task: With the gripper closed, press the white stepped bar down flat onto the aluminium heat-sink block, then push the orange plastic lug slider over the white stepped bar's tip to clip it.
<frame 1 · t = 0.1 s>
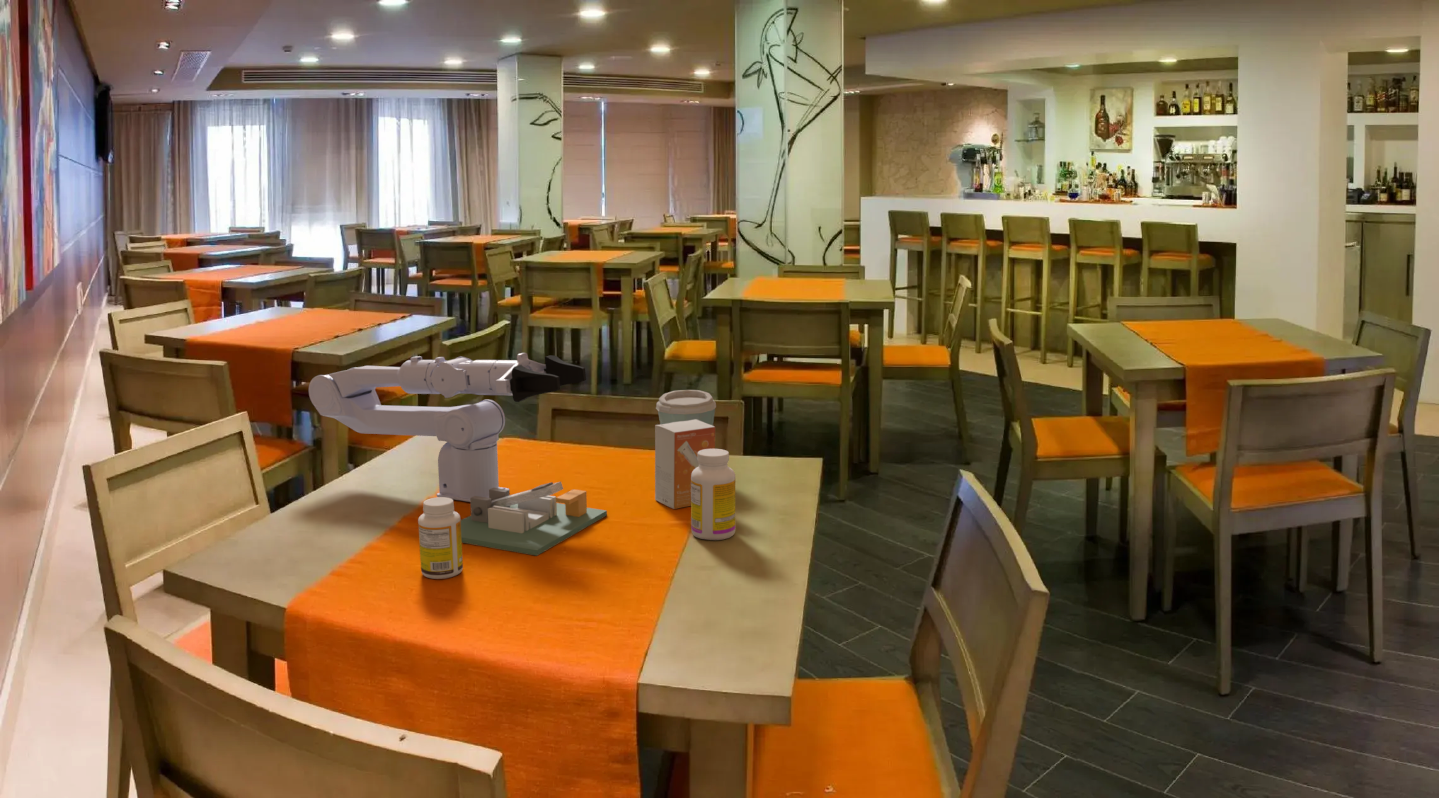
hand: (571, 378, 169), 22 cm above the table, tool horizontal, fingers open, 7 cm apart
disposable coffee cup: (686, 477, 193), on the table
supplement bottle 2: (713, 535, 163), on the table
lug slider: (571, 505, 168), point 3 cm above the table, slide at 0.0 cm
socket base: (523, 526, 166), on the table
white stepped bar: (522, 495, 165), point 5 cm above the table, hinge at 20.0°
supplement bottle: (442, 574, 147), on the table
small box: (684, 502, 179), on the table
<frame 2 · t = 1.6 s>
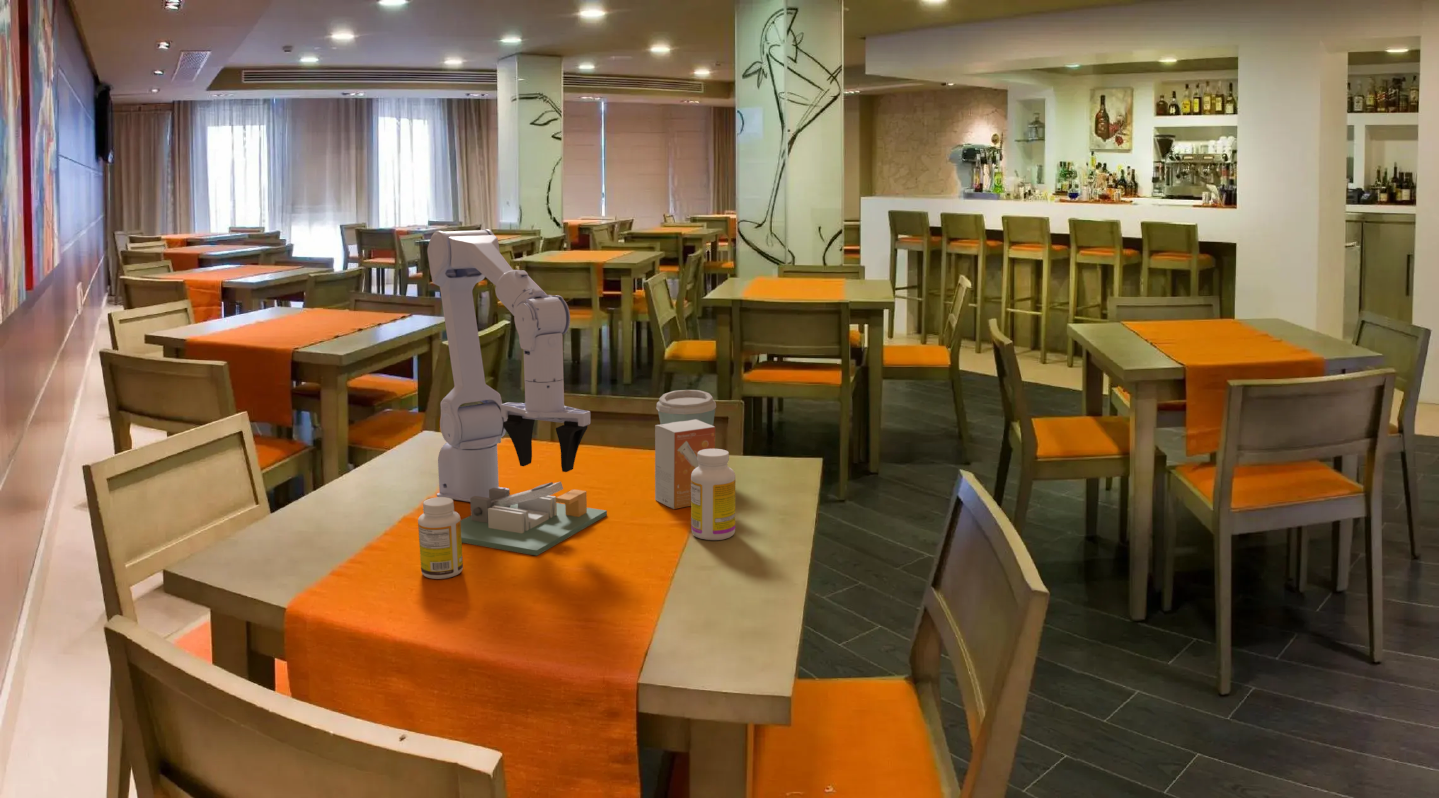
hand: (546, 467, 162), 10 cm above the table, tool pointing down, fingers open, 7 cm apart
nothing on the table moved.
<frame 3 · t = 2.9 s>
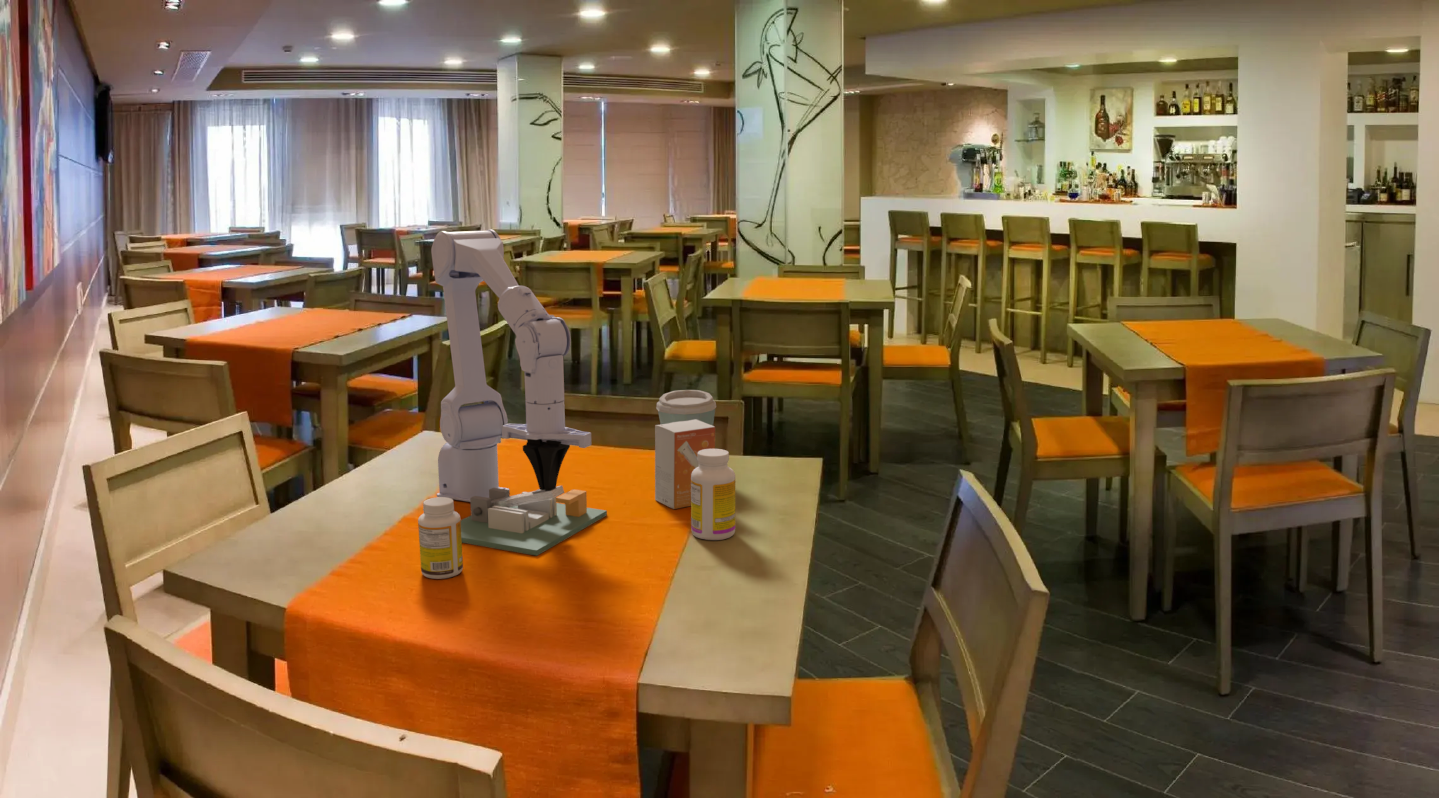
hand: (547, 488, 163), 7 cm above the table, tool pointing down, fingers closed, pressing on white stepped bar
white stepped bar: (523, 497, 165), point 5 cm above the table, hinge at 17.3°, touching gripper
everything else where it was.
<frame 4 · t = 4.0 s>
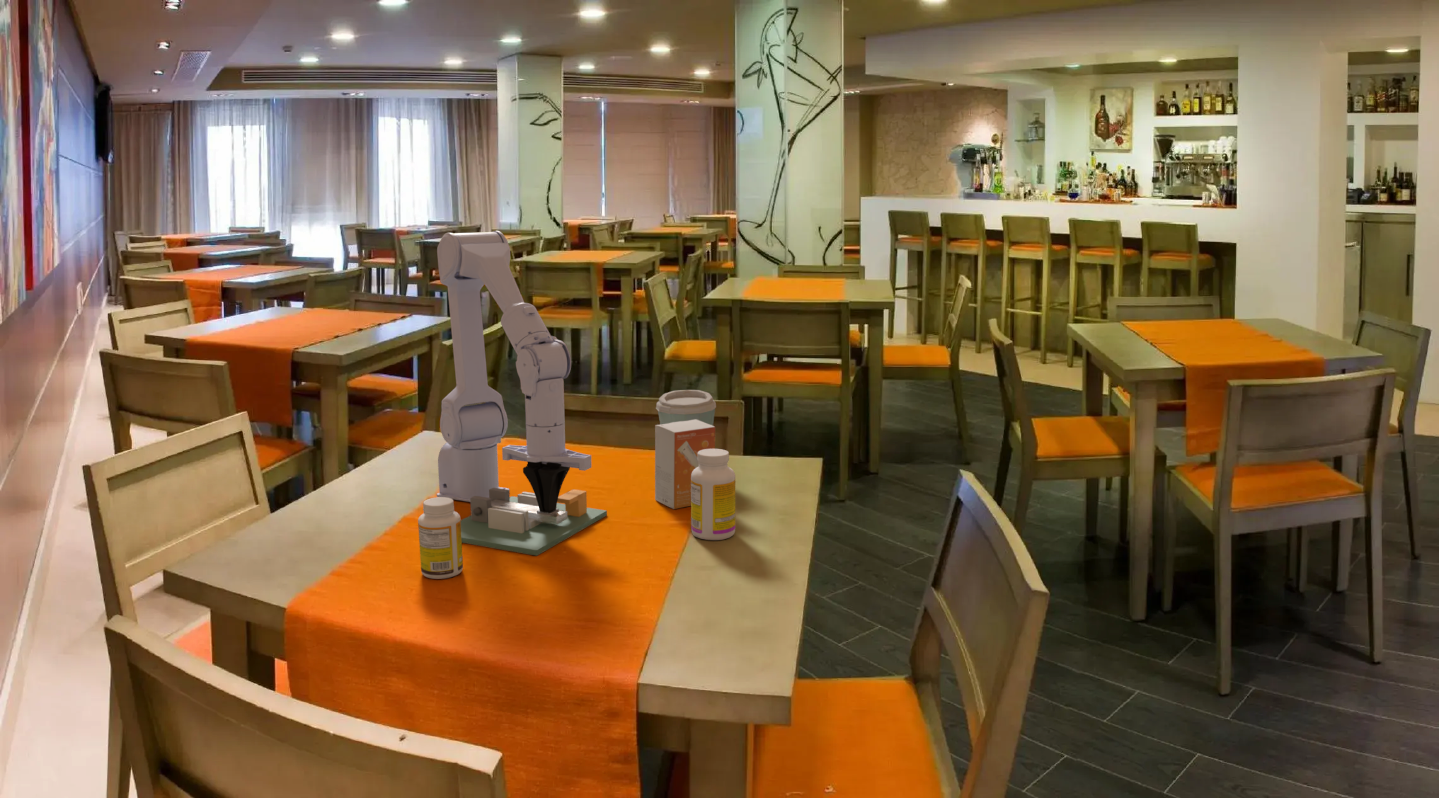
hand: (547, 510, 164), 3 cm above the table, tool pointing down, fingers closed, pressing on white stepped bar
white stepped bar: (525, 510, 166), point 3 cm above the table, hinge at -0.7°, touching gripper, socket base
everything else where it was.
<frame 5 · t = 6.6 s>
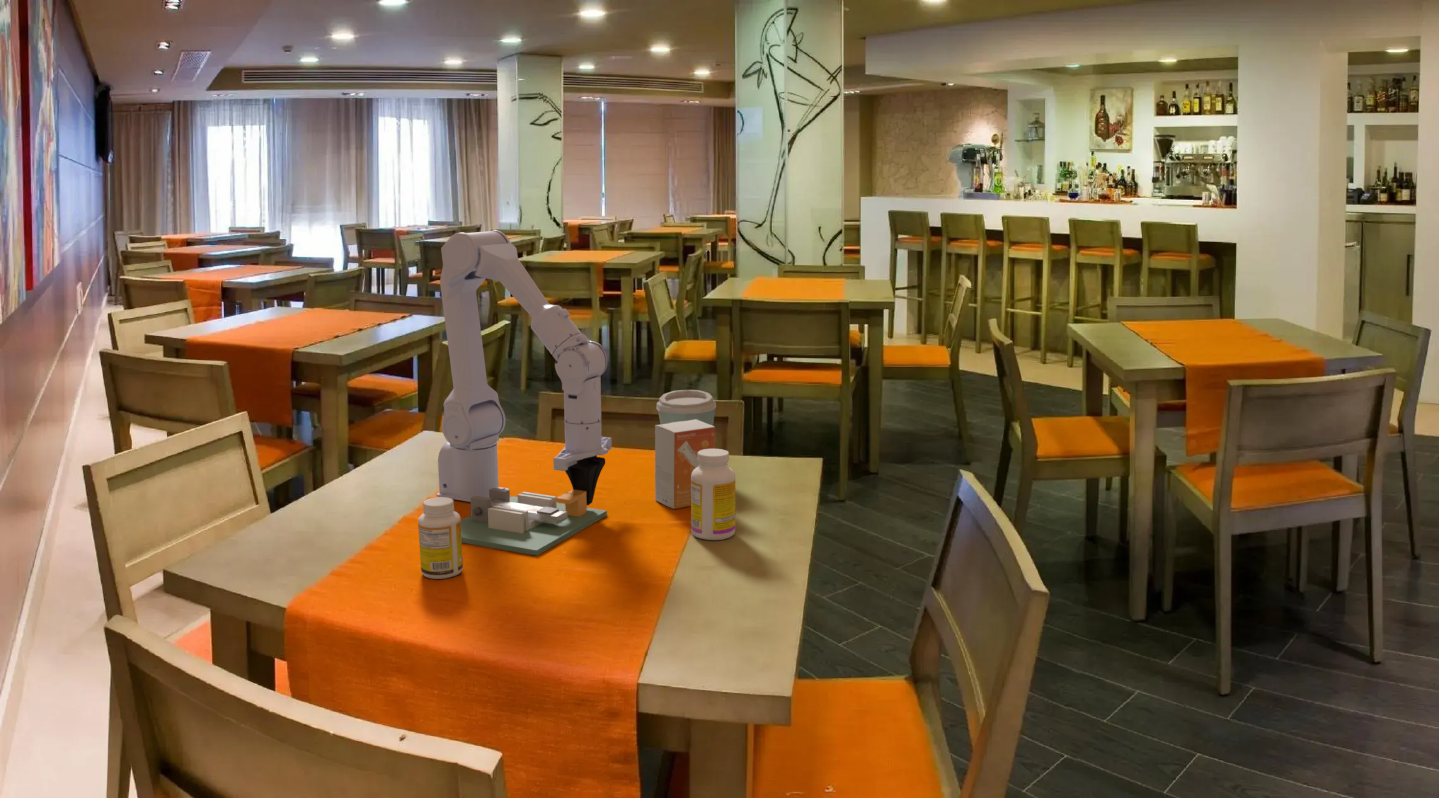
hand: (584, 503, 172), 2 cm above the table, tool pointing down, fingers closed
lug slider: (571, 505, 168), point 3 cm above the table, slide at 0.0 cm, touching gripper
white stepped bar: (525, 510, 166), point 3 cm above the table, hinge at -0.7°, touching socket base
everything else where it was.
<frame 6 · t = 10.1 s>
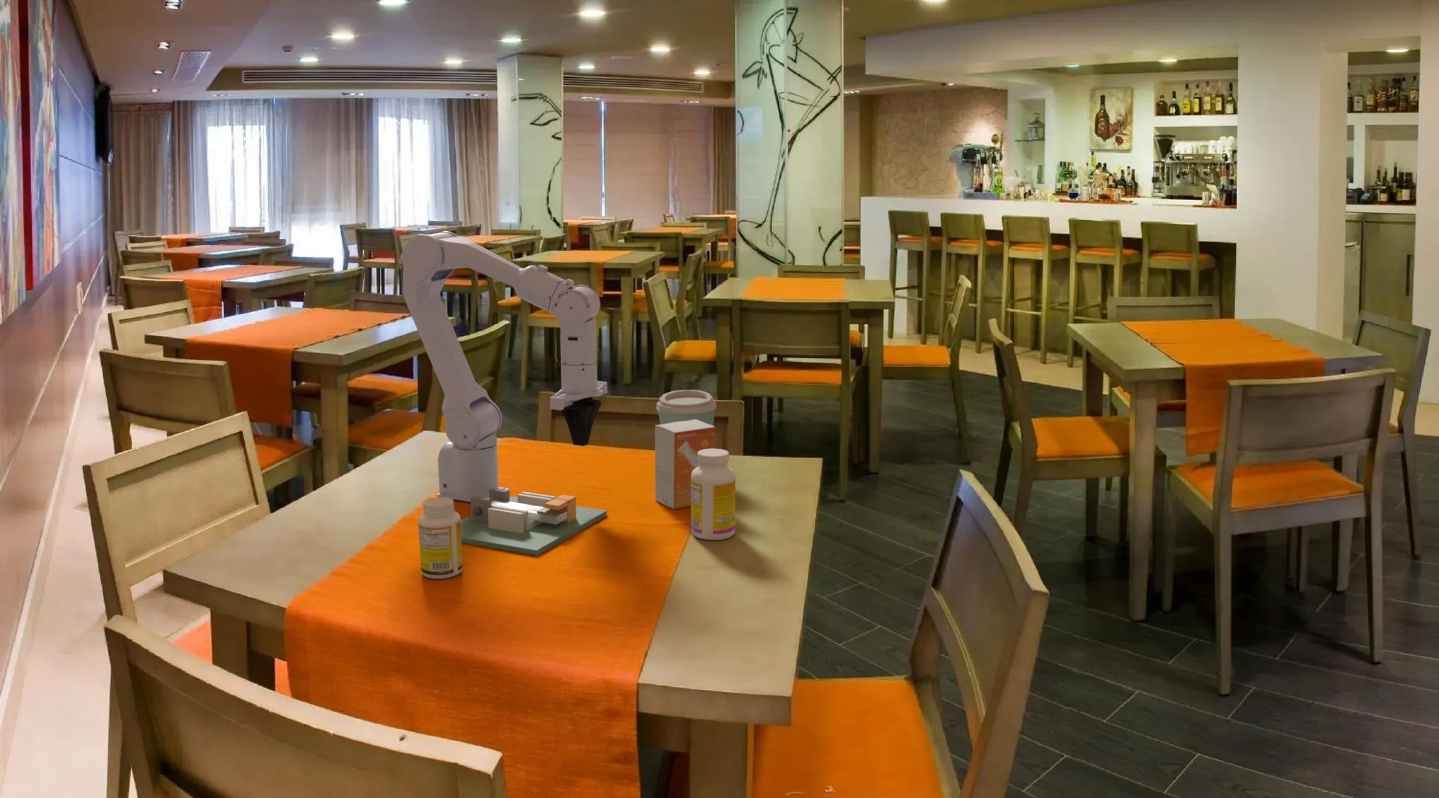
hand: (580, 444, 176), 10 cm above the table, tool pointing down, fingers closed
lug slider: (560, 511, 165), point 3 cm above the table, slide at 3.2 cm
everything else where it was.
at the end: white stepped bar at -1° (first picture: +20°); lug slider slide at 3.2 cm; white stepped bar touching socket base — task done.
